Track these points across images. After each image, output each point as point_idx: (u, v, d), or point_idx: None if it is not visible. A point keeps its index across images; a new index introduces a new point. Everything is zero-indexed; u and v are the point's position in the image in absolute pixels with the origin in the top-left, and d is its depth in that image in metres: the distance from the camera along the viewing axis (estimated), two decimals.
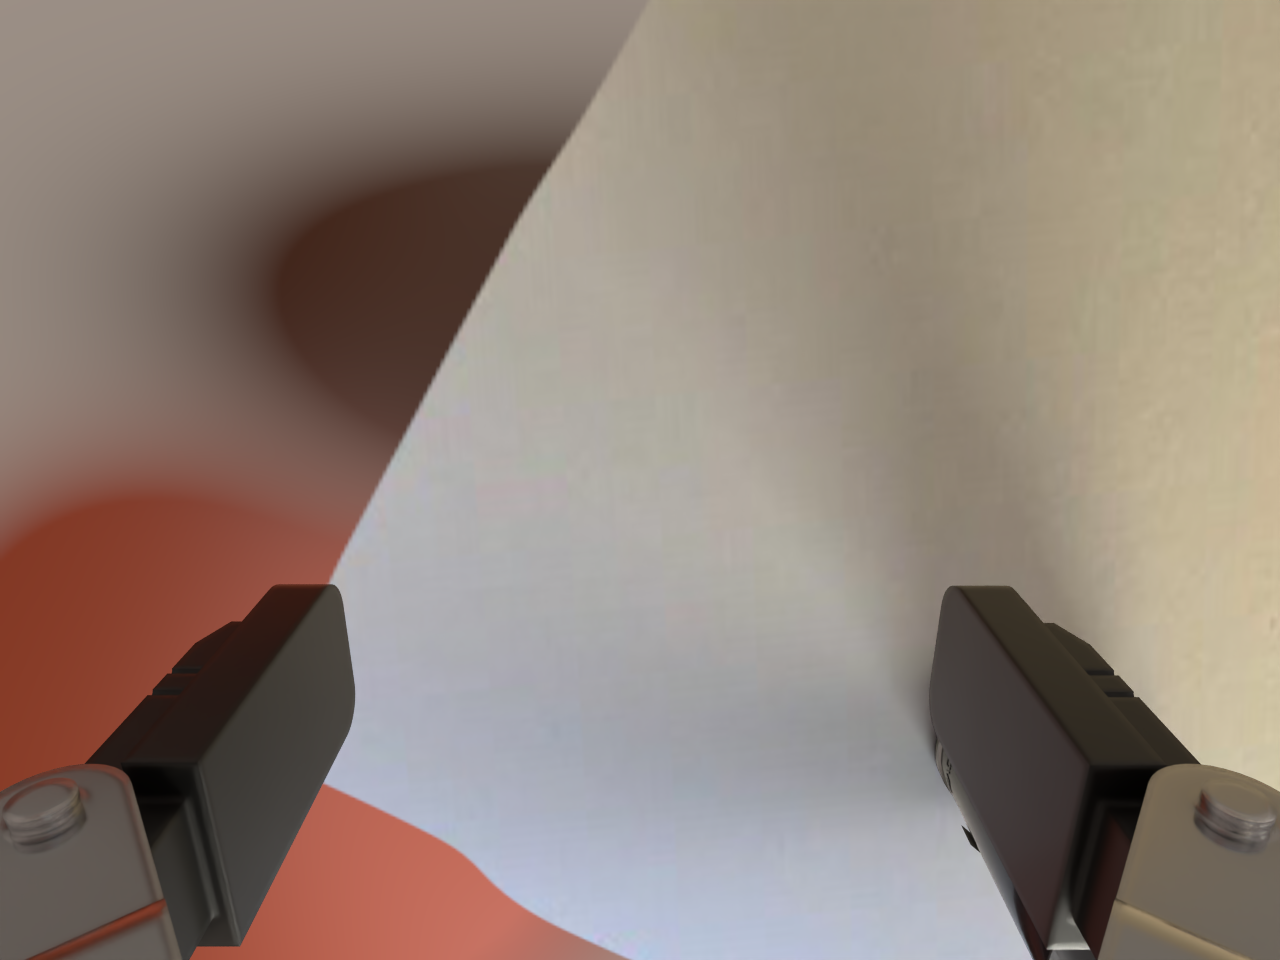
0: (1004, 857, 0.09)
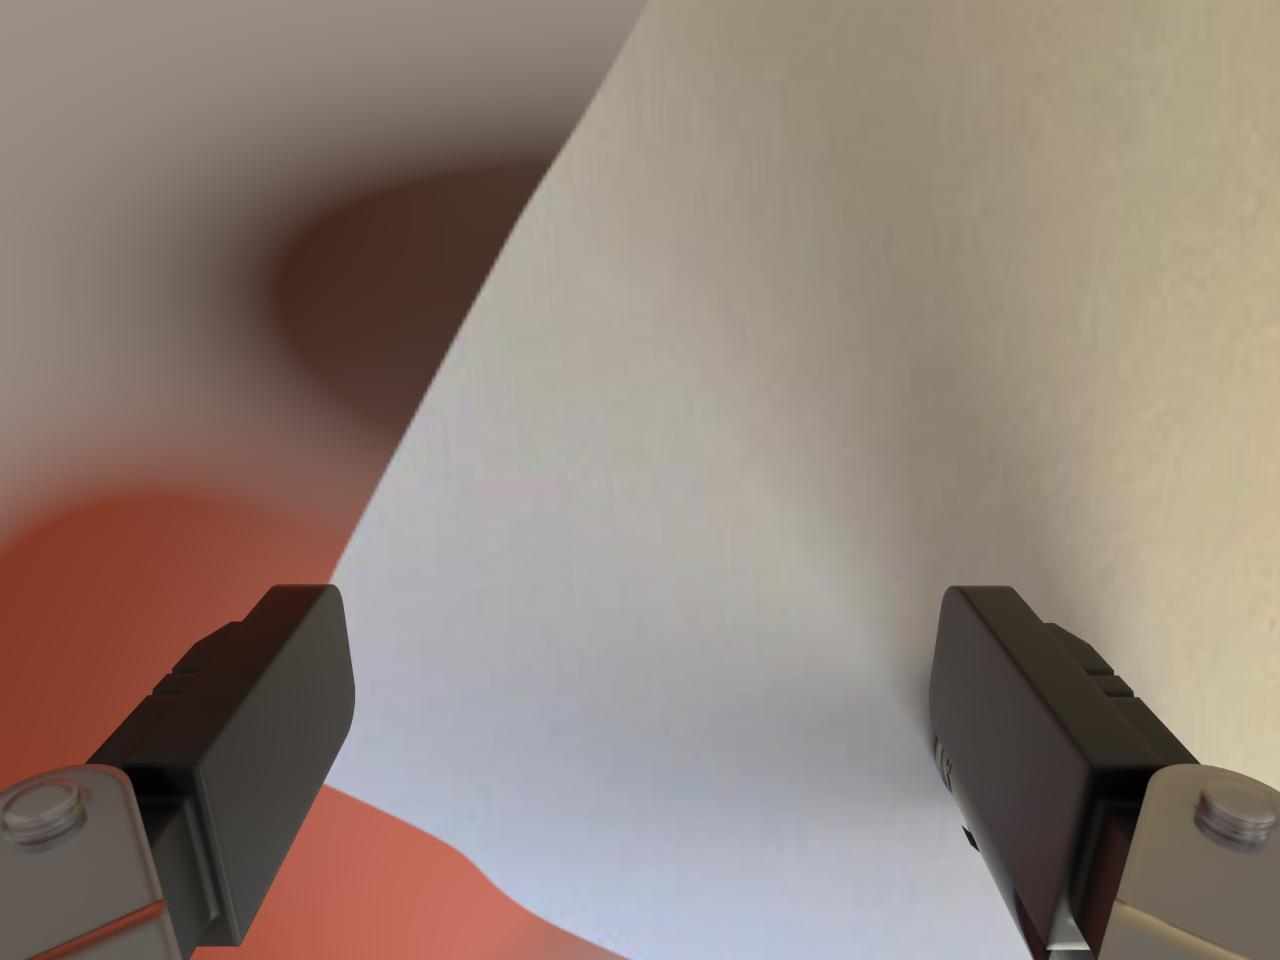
0: (1004, 857, 0.09)
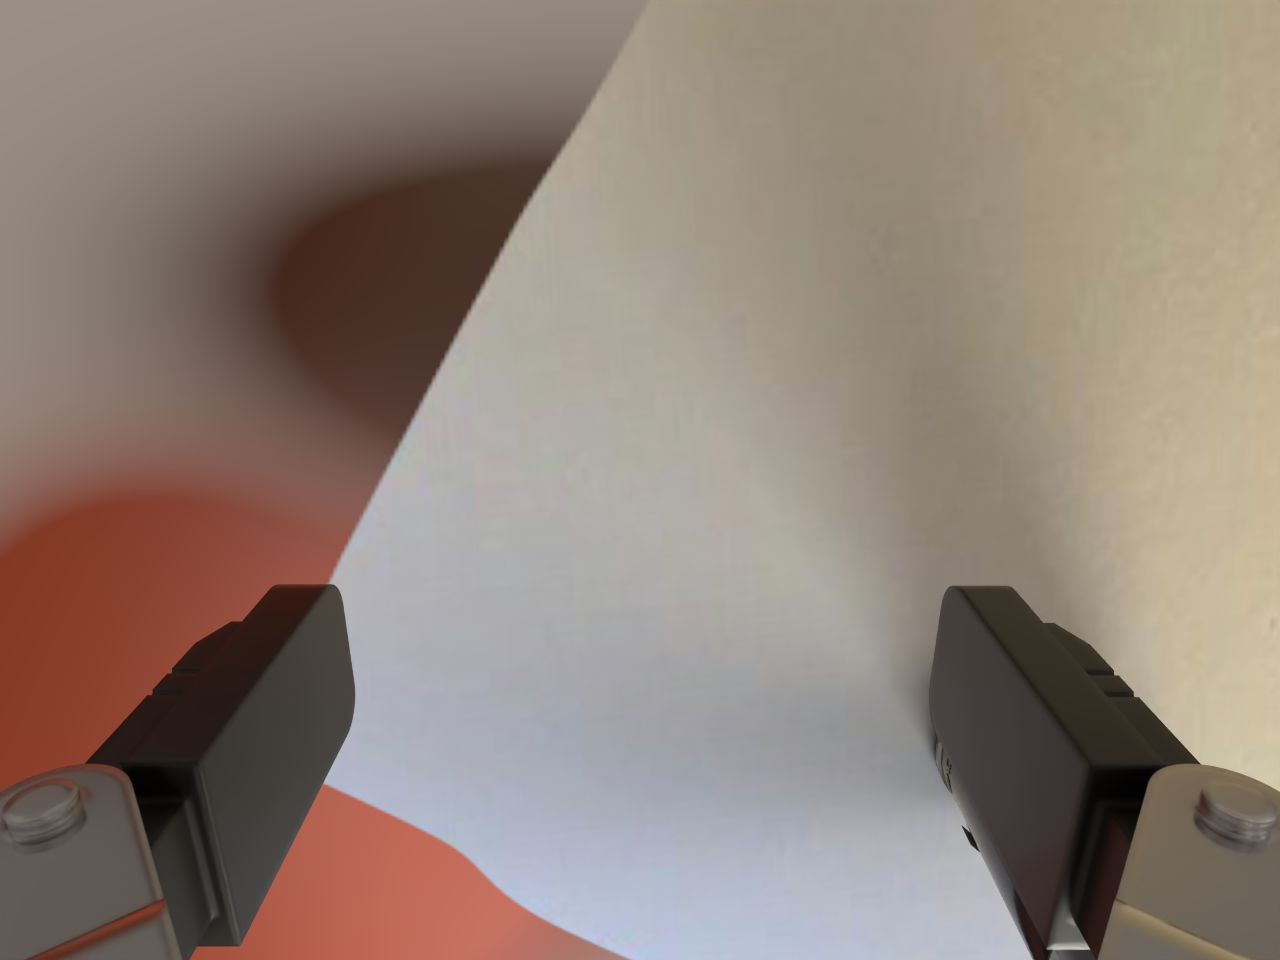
0: (1004, 857, 0.09)
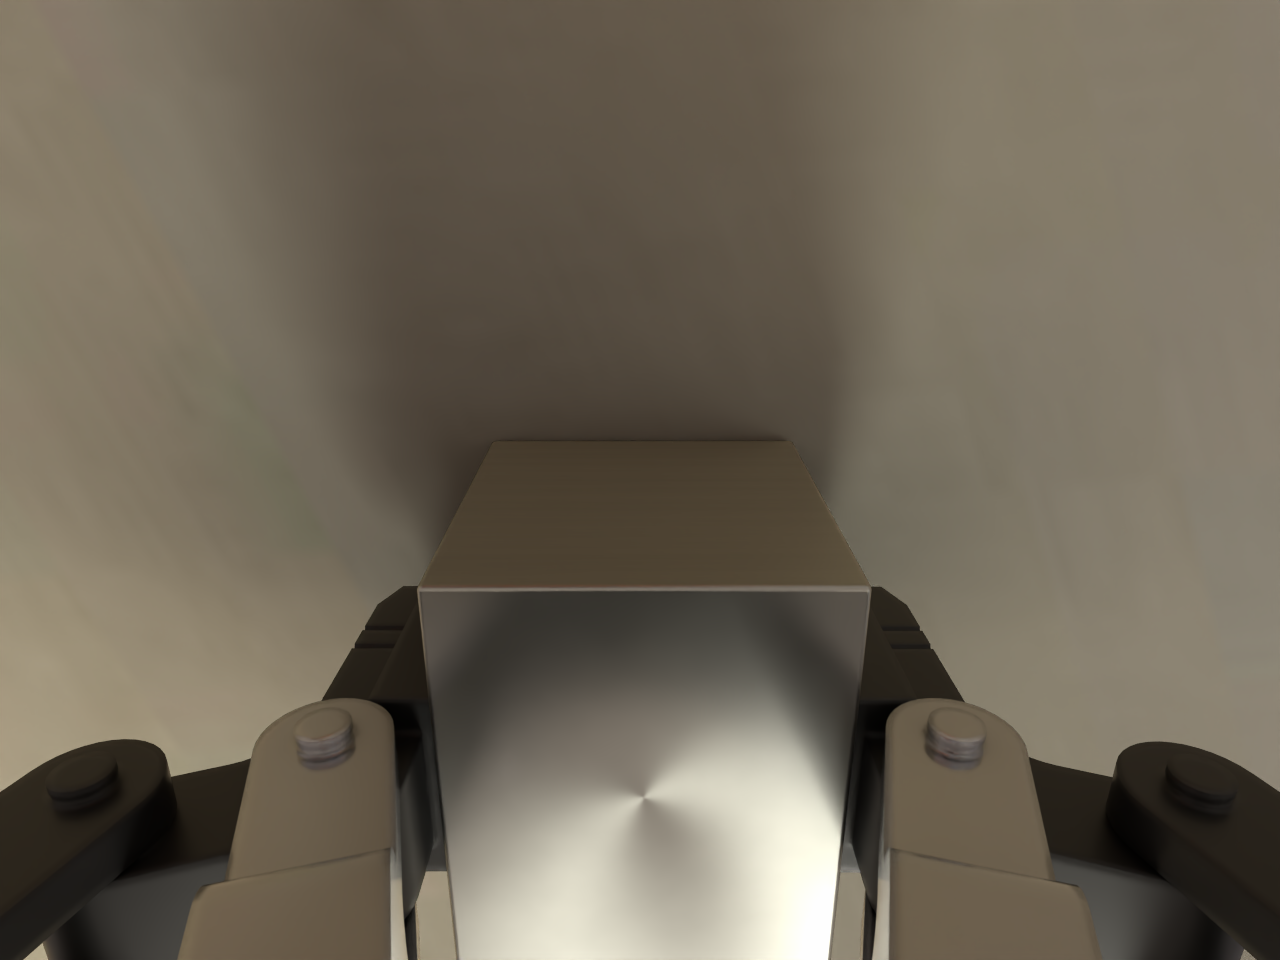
0: None
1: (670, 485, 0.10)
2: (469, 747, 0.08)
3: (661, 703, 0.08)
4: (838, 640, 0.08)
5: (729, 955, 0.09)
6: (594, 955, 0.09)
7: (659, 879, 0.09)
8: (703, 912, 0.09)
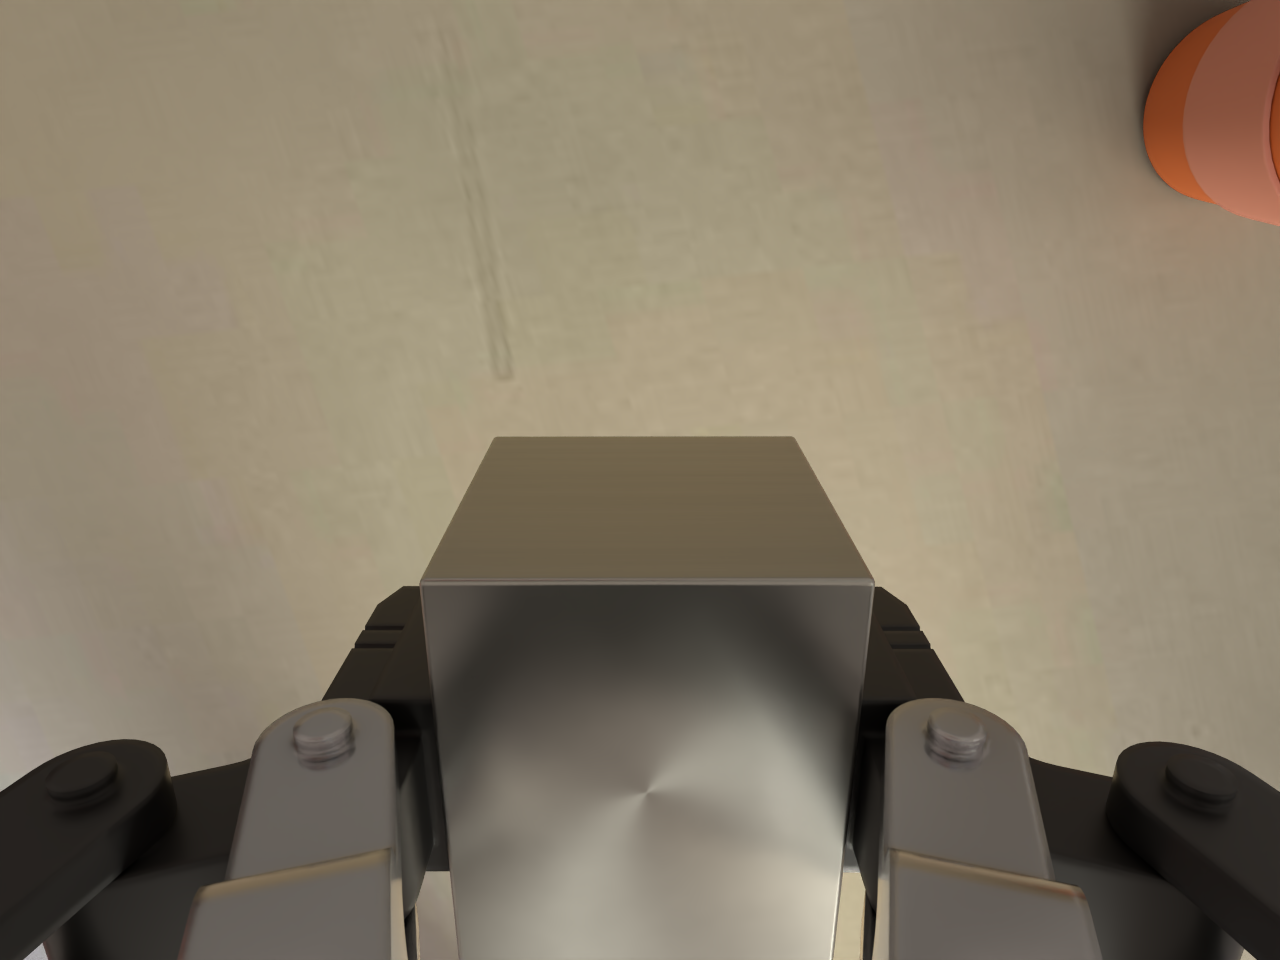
0: None
1: (672, 480, 0.10)
2: (471, 741, 0.08)
3: (664, 698, 0.08)
4: (841, 634, 0.08)
5: (732, 950, 0.09)
6: (596, 950, 0.09)
7: (662, 874, 0.09)
8: (705, 908, 0.09)
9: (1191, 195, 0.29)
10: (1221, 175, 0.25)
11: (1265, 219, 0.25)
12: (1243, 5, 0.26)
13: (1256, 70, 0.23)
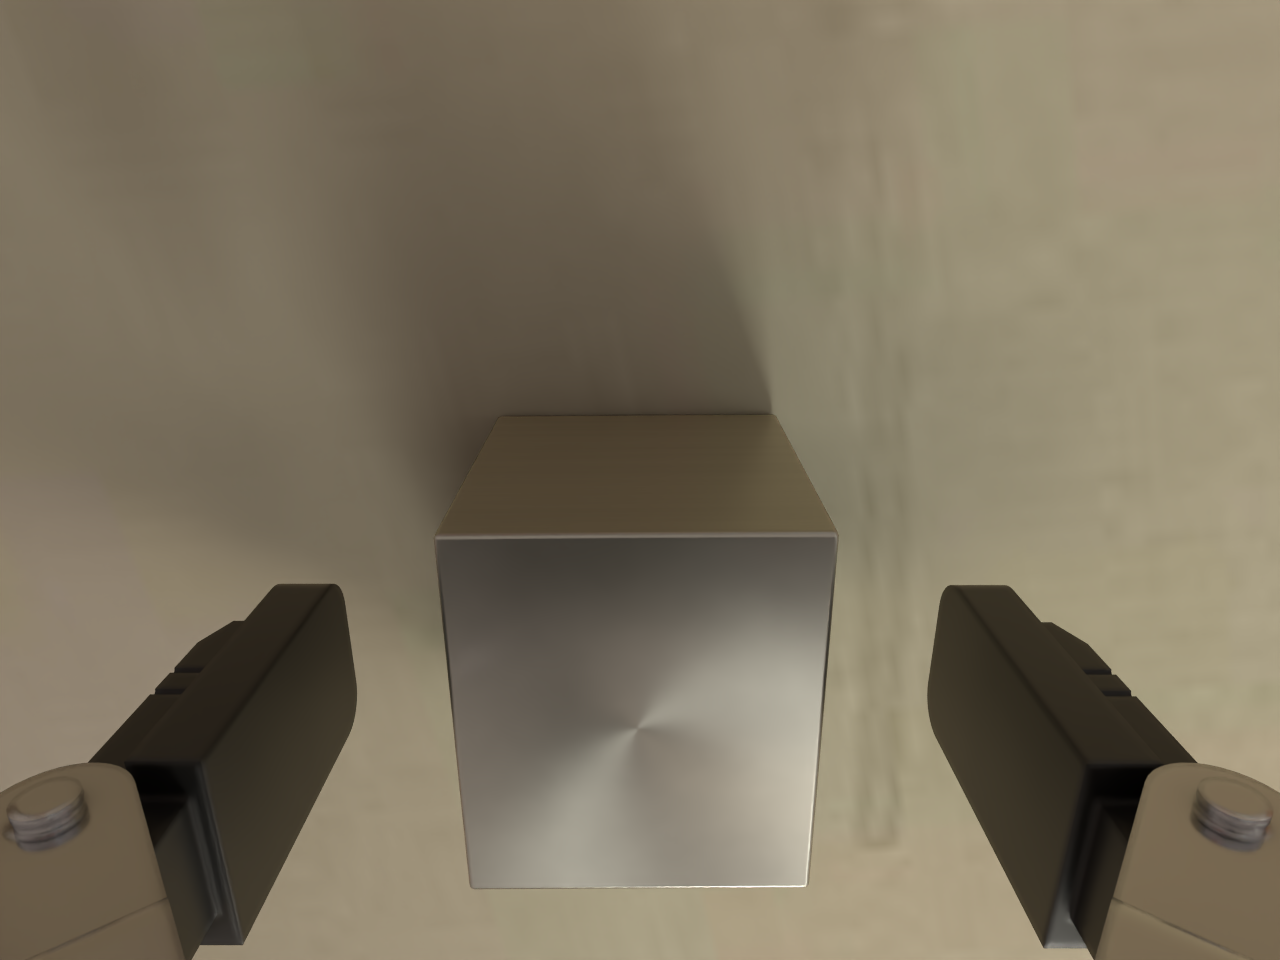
0: (1002, 856, 0.09)
1: (661, 452, 0.11)
2: (480, 682, 0.09)
3: (653, 641, 0.09)
4: (809, 581, 0.09)
5: (716, 875, 0.10)
6: (594, 876, 0.10)
7: (652, 804, 0.10)
8: (692, 835, 0.10)
9: None
10: None
11: None
12: None
13: None
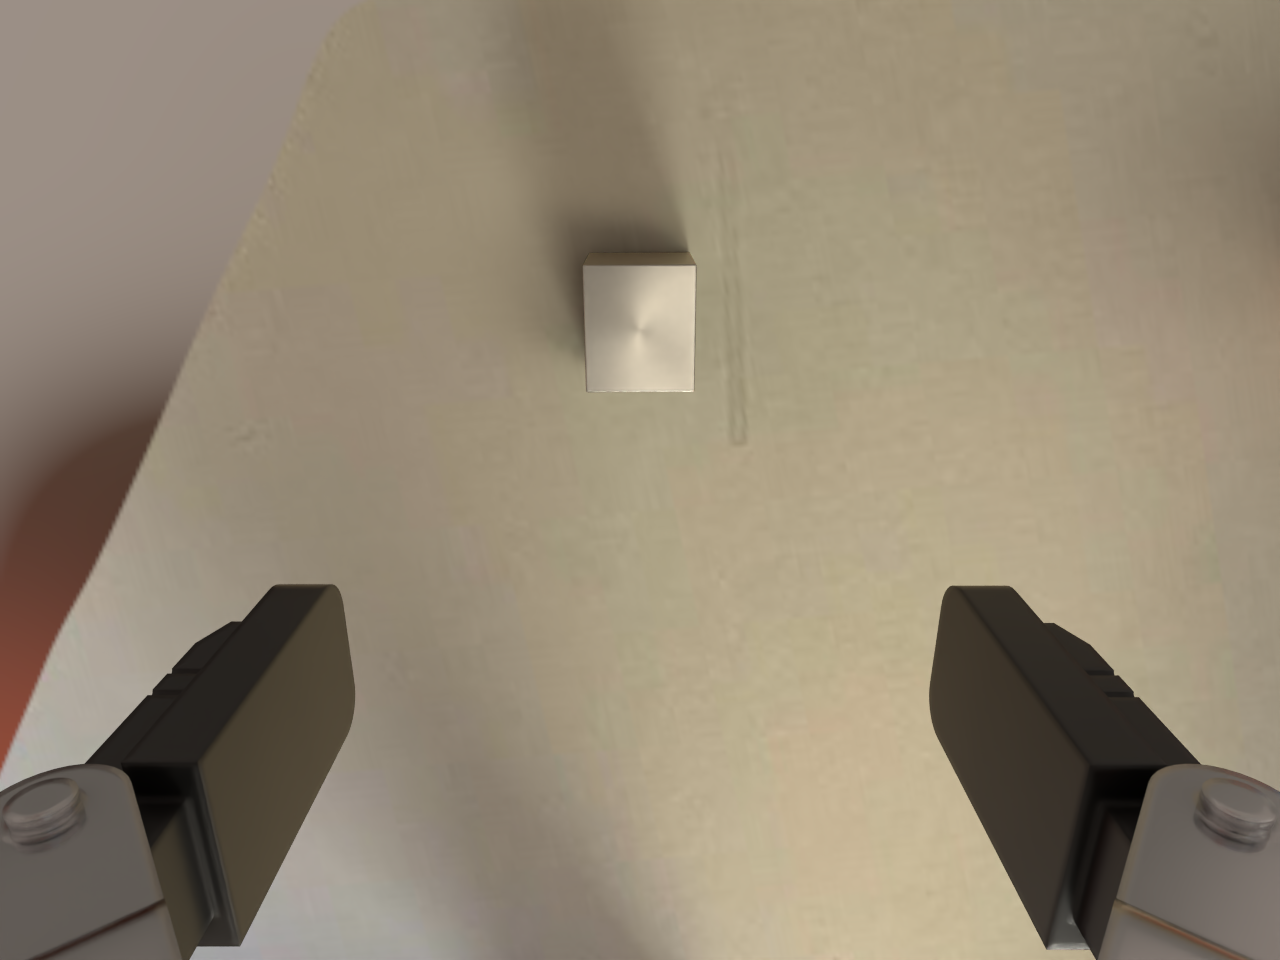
0: (1004, 857, 0.09)
1: (647, 257, 0.33)
2: (593, 313, 0.31)
3: (644, 299, 0.31)
4: (688, 280, 0.31)
5: (664, 385, 0.32)
6: (625, 386, 0.32)
7: (644, 358, 0.32)
8: (656, 370, 0.32)
9: None
10: None
11: None
12: None
13: None
